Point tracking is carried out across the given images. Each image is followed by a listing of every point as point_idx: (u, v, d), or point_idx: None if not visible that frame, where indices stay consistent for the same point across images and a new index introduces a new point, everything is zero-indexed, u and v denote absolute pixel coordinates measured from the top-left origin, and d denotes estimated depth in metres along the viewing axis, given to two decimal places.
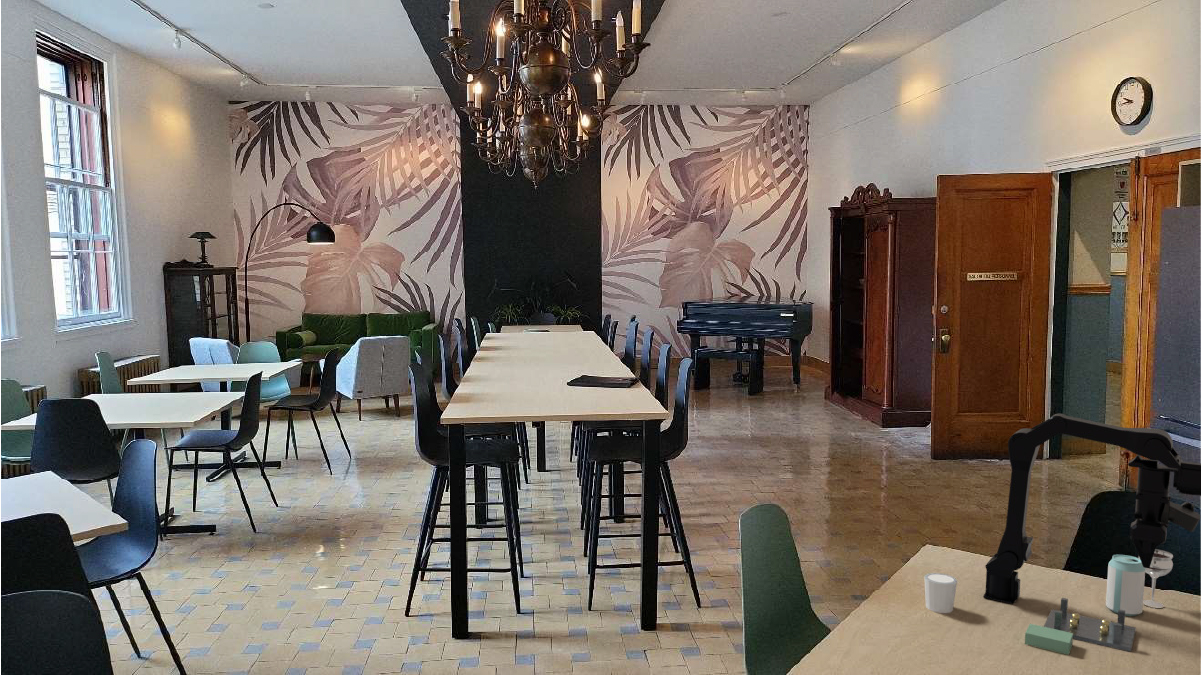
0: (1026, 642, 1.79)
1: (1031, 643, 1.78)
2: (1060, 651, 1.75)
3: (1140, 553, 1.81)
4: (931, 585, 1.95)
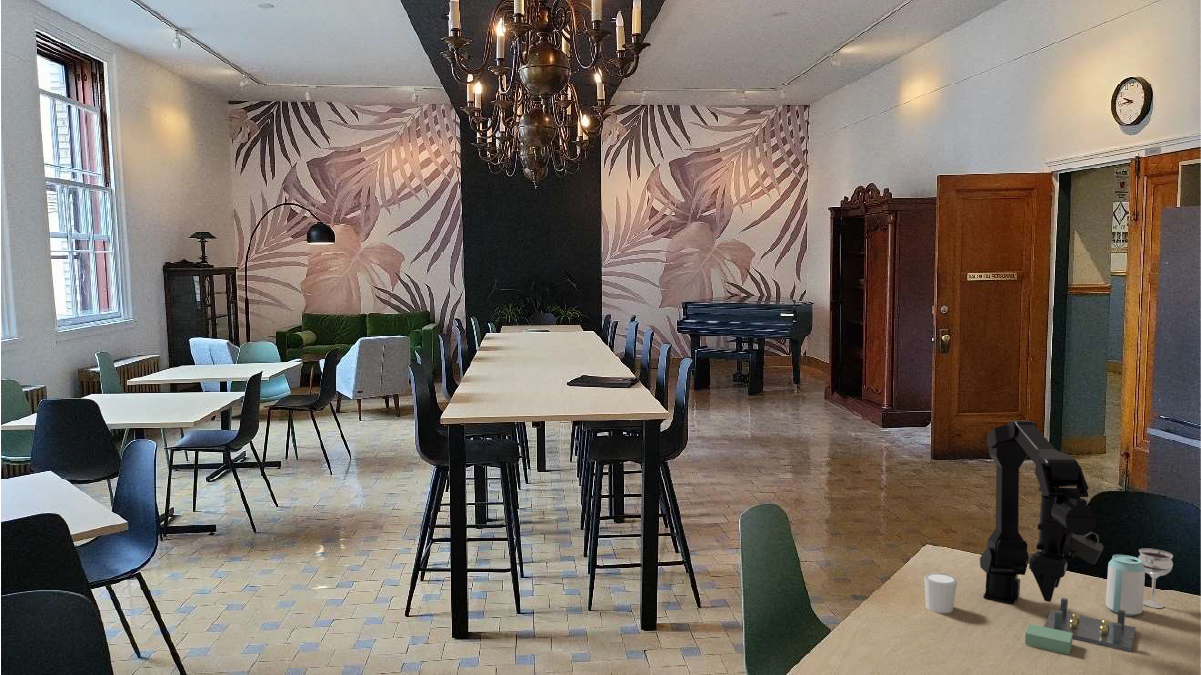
0: (1026, 642, 1.79)
1: (1031, 643, 1.78)
2: (1060, 651, 1.75)
3: (1041, 586, 1.74)
4: (931, 585, 1.95)
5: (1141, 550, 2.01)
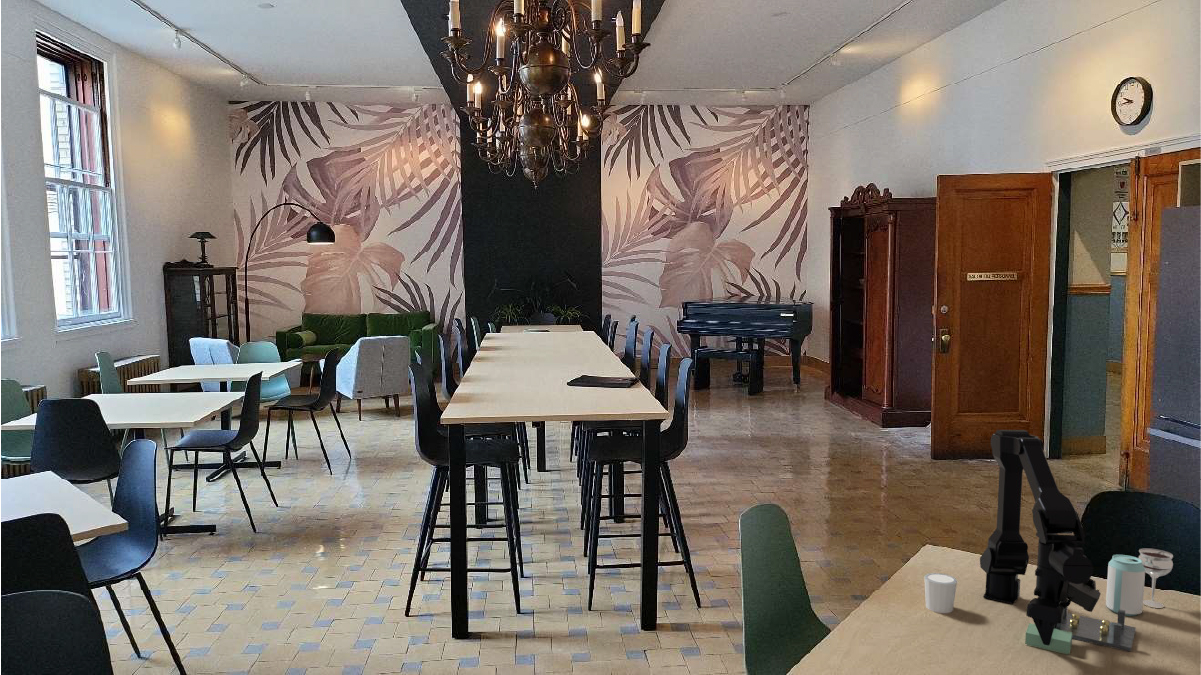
0: (1026, 642, 1.79)
1: (1032, 643, 1.78)
2: (1060, 650, 1.75)
3: (1040, 630, 1.76)
4: (931, 585, 1.95)
5: (1141, 550, 2.01)
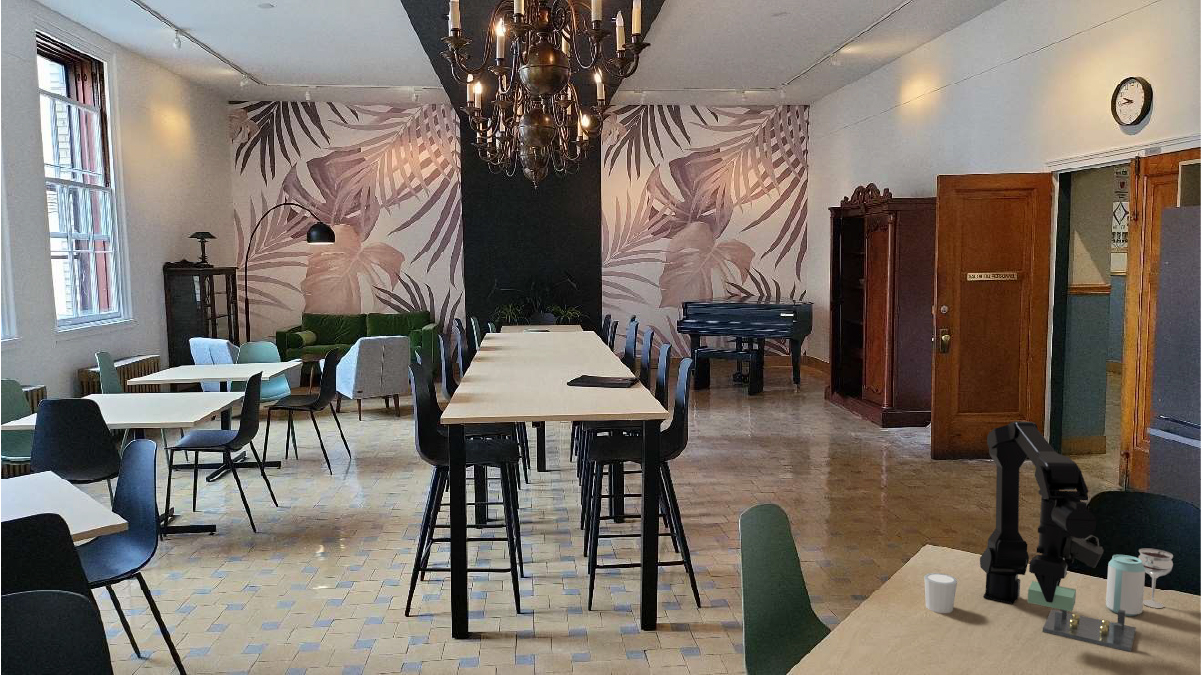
0: (1029, 598, 1.78)
1: (1034, 599, 1.77)
2: (1063, 606, 1.74)
3: (1042, 587, 1.75)
4: (931, 585, 1.95)
5: (1141, 550, 2.01)
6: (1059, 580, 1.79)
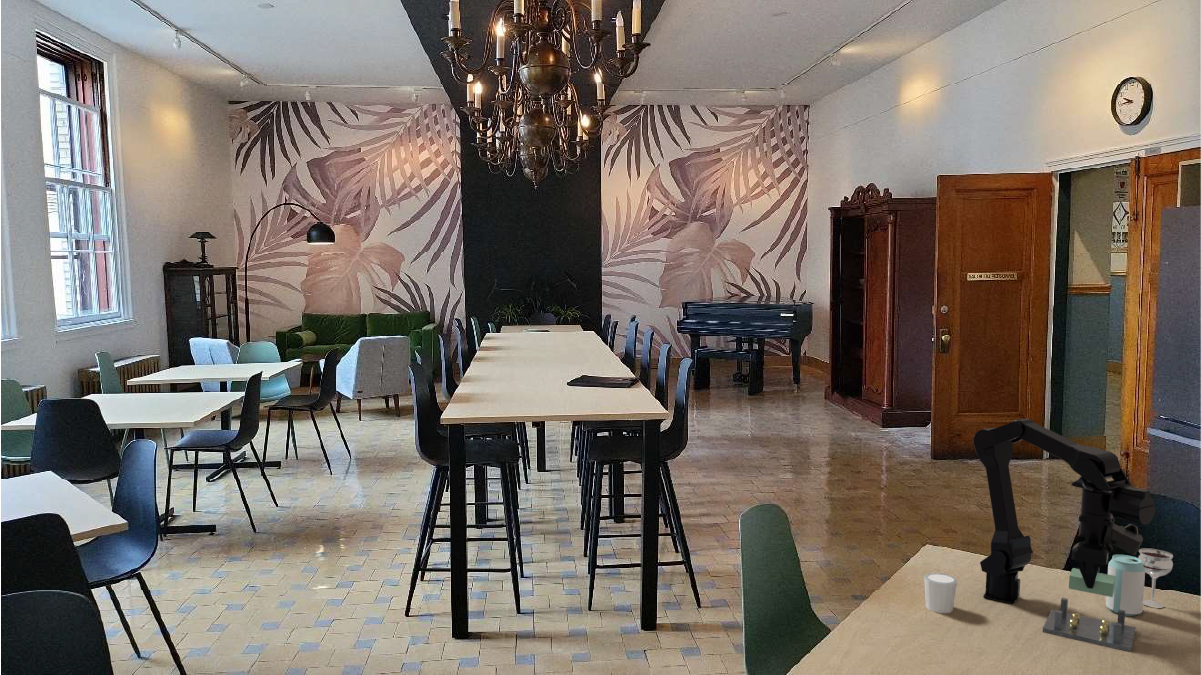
0: (1070, 585, 1.84)
1: (1075, 585, 1.84)
2: (1104, 592, 1.81)
3: (1083, 574, 1.81)
4: (931, 585, 1.95)
5: (1141, 550, 2.01)
6: (1098, 567, 1.86)
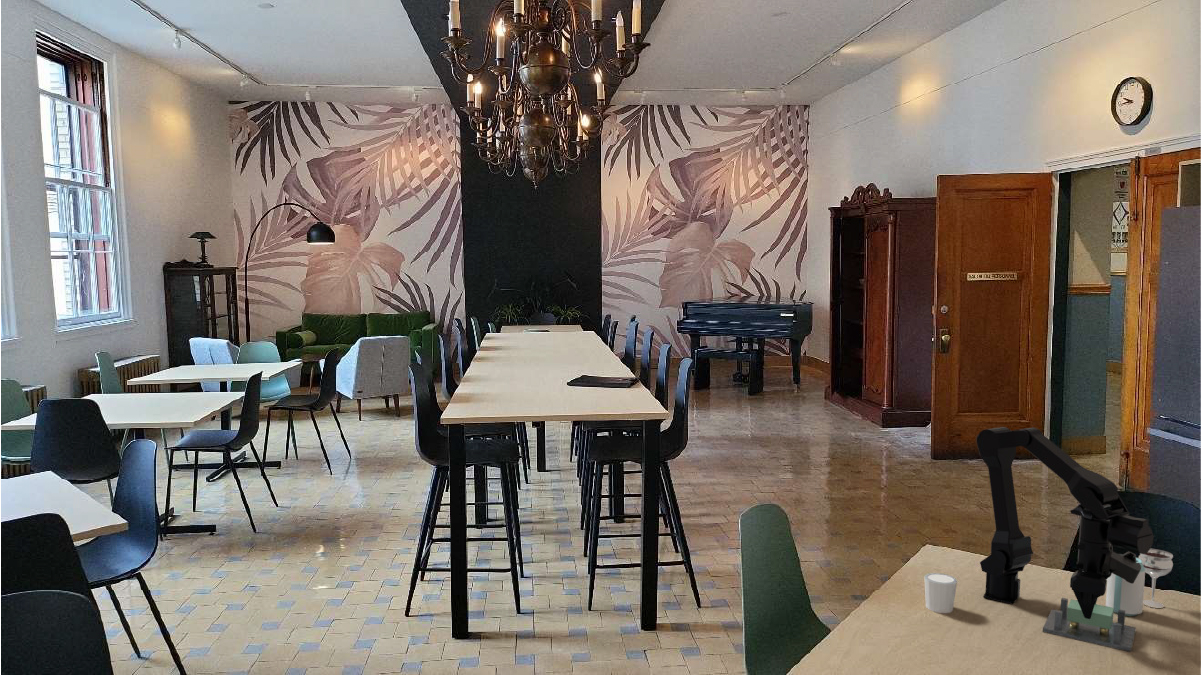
0: (1068, 616, 1.85)
1: (1073, 617, 1.84)
2: (1102, 624, 1.81)
3: (1081, 604, 1.81)
4: (931, 585, 1.95)
5: None
6: None
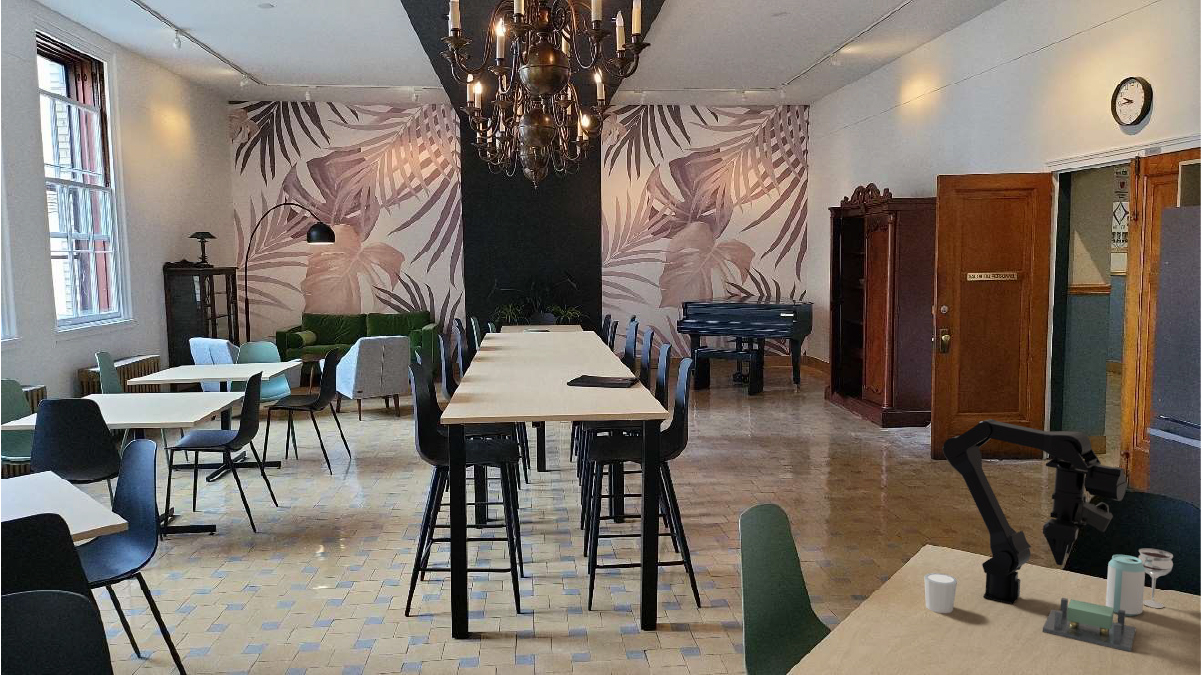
0: (1068, 616, 1.85)
1: (1073, 617, 1.84)
2: (1102, 624, 1.81)
3: (1053, 551, 1.88)
4: (931, 585, 1.95)
5: (1141, 550, 2.01)
6: (1072, 541, 1.95)
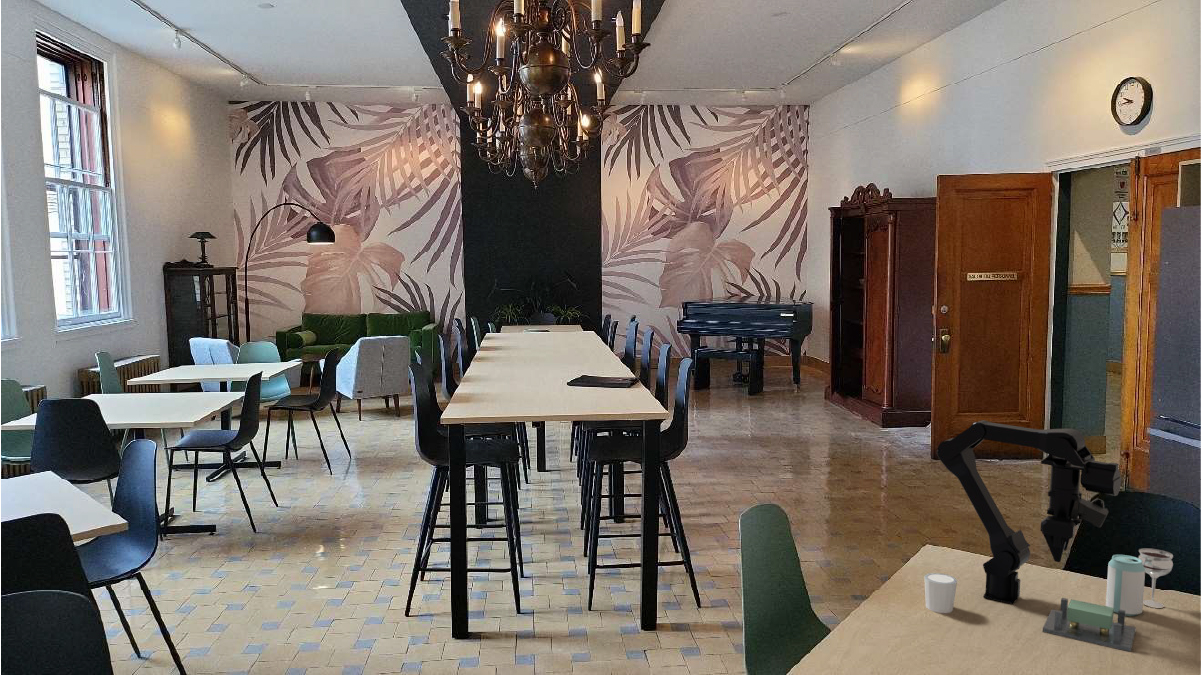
0: (1068, 616, 1.85)
1: (1073, 617, 1.84)
2: (1102, 624, 1.81)
3: (1051, 548, 1.89)
4: (931, 585, 1.95)
5: (1141, 550, 2.01)
6: (1068, 538, 1.97)
